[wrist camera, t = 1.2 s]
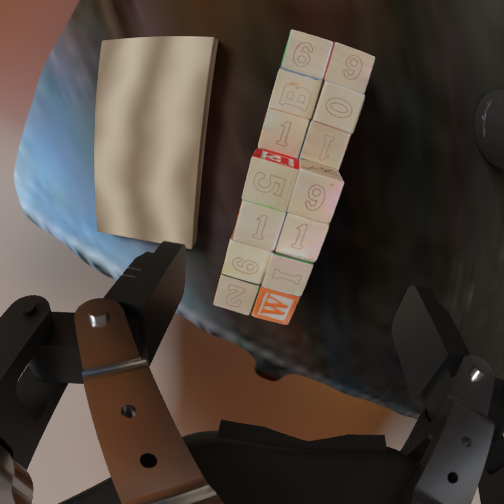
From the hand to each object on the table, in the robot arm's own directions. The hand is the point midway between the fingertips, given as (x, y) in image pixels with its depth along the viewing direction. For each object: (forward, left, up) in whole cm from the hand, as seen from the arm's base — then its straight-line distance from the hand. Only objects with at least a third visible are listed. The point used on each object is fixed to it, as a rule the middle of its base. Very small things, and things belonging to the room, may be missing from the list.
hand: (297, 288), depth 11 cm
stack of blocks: (0, 0, -23) cm, 23 cm away
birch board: (+15, 0, -22) cm, 27 cm away
